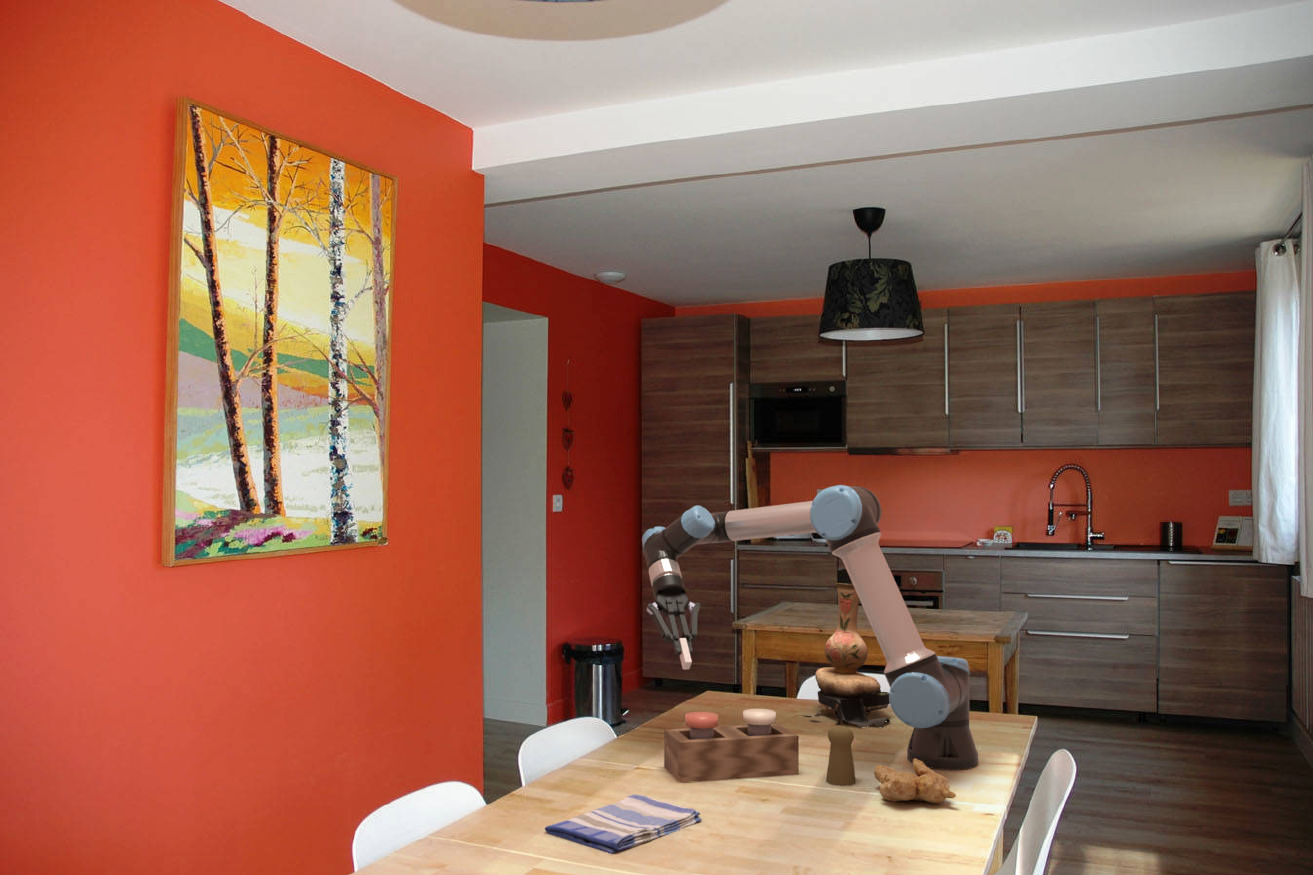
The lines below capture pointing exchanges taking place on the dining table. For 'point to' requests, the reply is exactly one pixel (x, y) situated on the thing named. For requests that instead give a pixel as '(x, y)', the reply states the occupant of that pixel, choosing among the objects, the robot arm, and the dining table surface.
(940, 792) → the ginger root
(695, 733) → the red button
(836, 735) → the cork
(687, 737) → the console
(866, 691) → the vase
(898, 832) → the dining table surface
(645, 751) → the dining table surface
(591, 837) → the dish towel
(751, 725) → the ivory button
